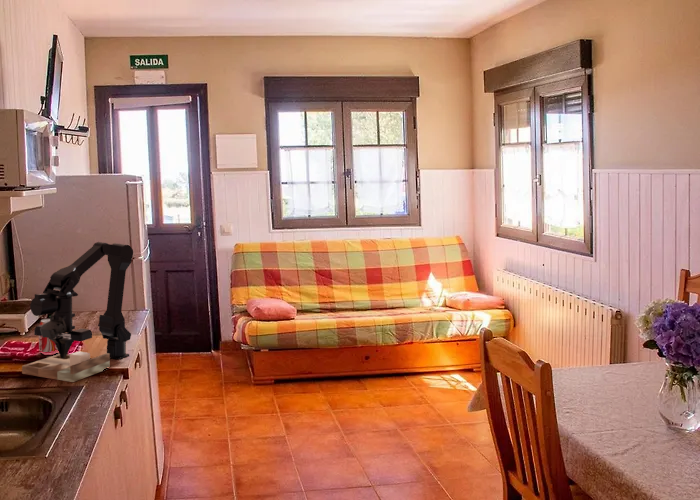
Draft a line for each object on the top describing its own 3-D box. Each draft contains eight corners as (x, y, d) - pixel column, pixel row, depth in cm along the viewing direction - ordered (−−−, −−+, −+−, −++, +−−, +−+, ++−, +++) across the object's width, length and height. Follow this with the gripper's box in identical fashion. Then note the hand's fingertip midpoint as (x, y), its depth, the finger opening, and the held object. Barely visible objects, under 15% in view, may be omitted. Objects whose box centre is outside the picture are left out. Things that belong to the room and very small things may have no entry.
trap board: (60, 360, 275) (60, 346, 274) (109, 368, 268) (109, 353, 267) (22, 373, 258) (21, 358, 258) (73, 382, 251) (72, 366, 251)
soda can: (53, 357, 279) (53, 323, 277) (34, 355, 280) (34, 321, 279) (64, 352, 286) (64, 319, 284) (46, 350, 287) (46, 317, 285)
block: (78, 363, 264) (78, 351, 263) (90, 365, 262) (89, 352, 262) (69, 366, 259) (69, 354, 259) (80, 368, 258) (80, 356, 257)
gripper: (21, 312, 257) (22, 360, 259) (70, 318, 251) (70, 367, 252) (46, 306, 267) (46, 352, 269) (93, 312, 261) (93, 359, 263)
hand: (63, 358), depth 263 cm, fingers closed
